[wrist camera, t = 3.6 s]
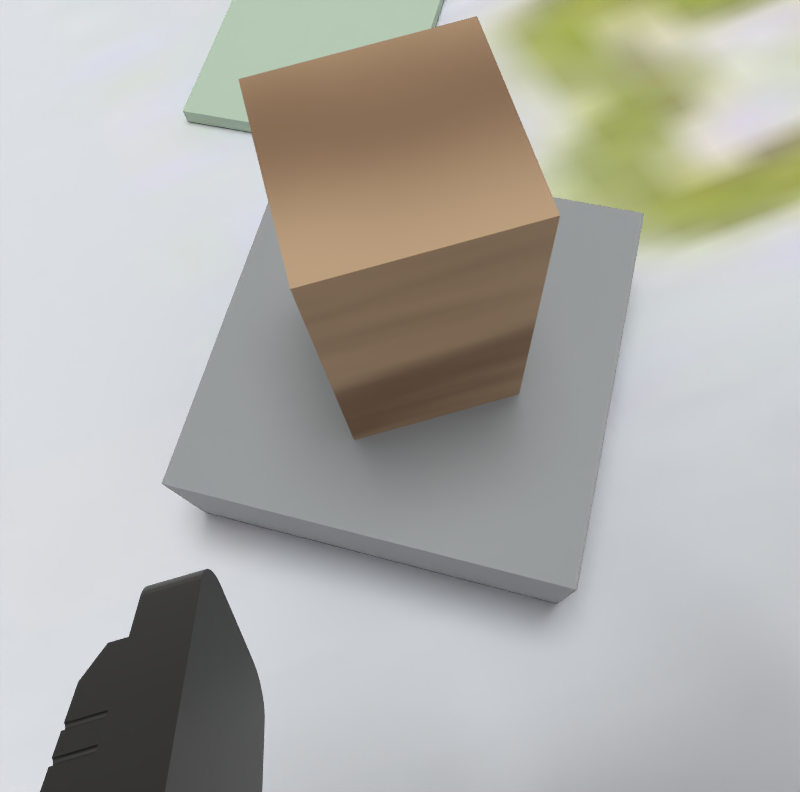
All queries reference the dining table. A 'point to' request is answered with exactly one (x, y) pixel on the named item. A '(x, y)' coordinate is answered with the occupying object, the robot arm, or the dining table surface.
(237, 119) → the mat
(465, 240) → the walnut block
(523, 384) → the gray square slab
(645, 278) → the dining table surface
